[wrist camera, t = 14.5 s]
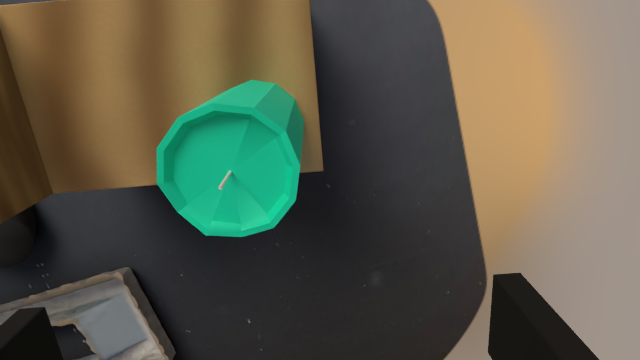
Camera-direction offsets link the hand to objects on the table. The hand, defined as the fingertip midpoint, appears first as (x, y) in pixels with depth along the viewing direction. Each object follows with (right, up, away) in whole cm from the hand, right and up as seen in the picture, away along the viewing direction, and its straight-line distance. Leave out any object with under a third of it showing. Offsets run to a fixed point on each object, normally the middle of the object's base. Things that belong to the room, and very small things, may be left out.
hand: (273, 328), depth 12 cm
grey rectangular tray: (-28, -13, +32) cm, 45 cm away
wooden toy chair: (-9, +13, +24) cm, 29 cm away
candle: (-3, +8, +15) cm, 17 cm away
